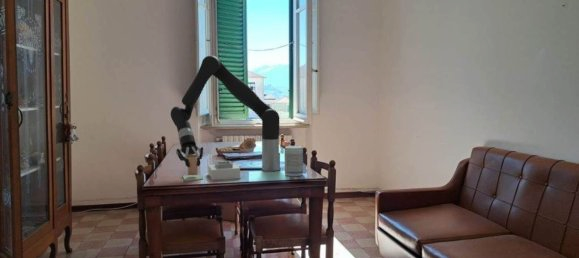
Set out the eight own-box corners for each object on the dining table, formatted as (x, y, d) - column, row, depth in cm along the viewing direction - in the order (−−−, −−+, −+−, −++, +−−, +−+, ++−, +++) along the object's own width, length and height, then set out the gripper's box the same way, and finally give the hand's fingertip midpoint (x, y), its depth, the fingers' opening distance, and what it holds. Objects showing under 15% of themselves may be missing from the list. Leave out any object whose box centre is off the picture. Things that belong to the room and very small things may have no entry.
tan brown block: (196, 173, 214) (196, 153, 212) (197, 174, 209) (197, 154, 208) (187, 173, 212) (187, 153, 211) (188, 175, 208) (188, 155, 207)
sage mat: (201, 175, 216) (201, 174, 216) (203, 179, 208) (203, 178, 208) (182, 177, 214) (182, 175, 214) (184, 180, 205) (184, 179, 205)
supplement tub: (306, 175, 218) (306, 147, 217) (291, 177, 213) (291, 148, 211) (296, 172, 226) (296, 145, 225) (281, 174, 221) (281, 146, 219)
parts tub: (238, 172, 225) (237, 159, 224) (243, 177, 212) (243, 164, 212) (208, 174, 220) (208, 161, 219) (211, 179, 207) (211, 165, 207)
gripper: (173, 134, 212) (180, 162, 202) (201, 133, 218) (209, 160, 209) (171, 144, 217) (177, 171, 208) (199, 142, 224) (206, 168, 214)
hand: (193, 165), depth 209 cm, fingers closed on tan brown block, 4 cm apart
